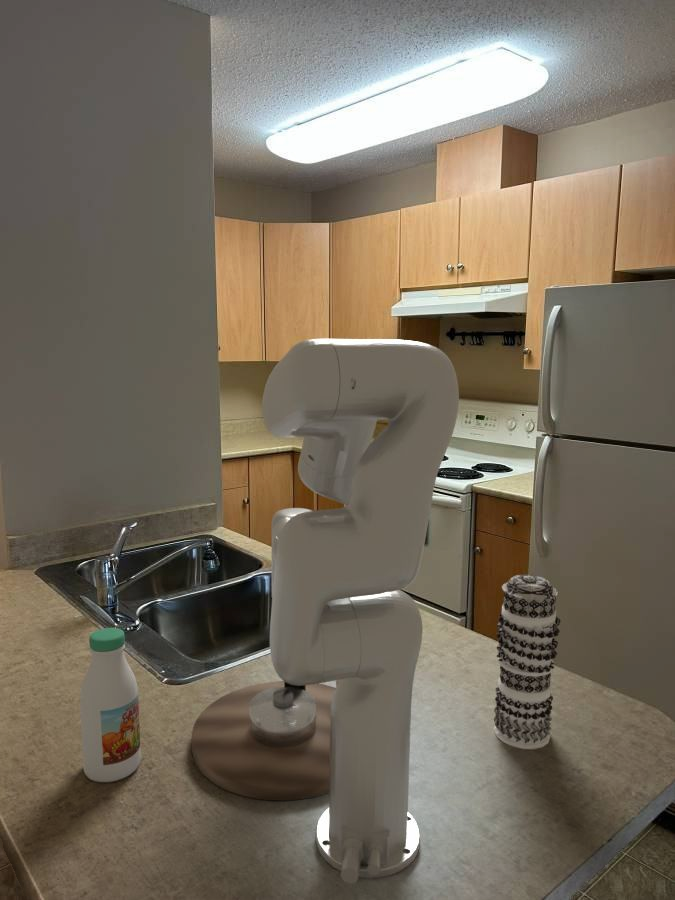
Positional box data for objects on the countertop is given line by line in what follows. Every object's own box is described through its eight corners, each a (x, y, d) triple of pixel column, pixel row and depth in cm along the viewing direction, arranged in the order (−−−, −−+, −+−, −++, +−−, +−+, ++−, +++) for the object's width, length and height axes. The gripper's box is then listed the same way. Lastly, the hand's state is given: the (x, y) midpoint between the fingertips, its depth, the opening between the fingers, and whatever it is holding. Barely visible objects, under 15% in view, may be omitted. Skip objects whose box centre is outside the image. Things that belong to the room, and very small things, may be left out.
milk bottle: (80, 788, 90) (73, 648, 87) (86, 755, 97) (79, 624, 94) (140, 779, 92) (135, 642, 89) (141, 747, 99) (136, 619, 96)
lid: (310, 750, 95) (310, 714, 94) (241, 744, 96) (241, 709, 96) (320, 713, 105) (321, 680, 104) (259, 708, 106) (258, 675, 105)
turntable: (371, 809, 86) (372, 766, 85) (163, 790, 89) (161, 749, 88) (382, 697, 114) (383, 664, 113) (222, 686, 117) (222, 654, 116)
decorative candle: (555, 755, 98) (566, 593, 95) (491, 745, 101) (499, 587, 97) (550, 721, 107) (560, 572, 103) (491, 714, 109) (499, 567, 106)
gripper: (311, 606, 98) (310, 722, 101) (325, 572, 112) (324, 674, 115) (261, 603, 99) (261, 718, 101) (281, 570, 113) (281, 671, 116)
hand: (294, 694), depth 108 cm, fingers closed
